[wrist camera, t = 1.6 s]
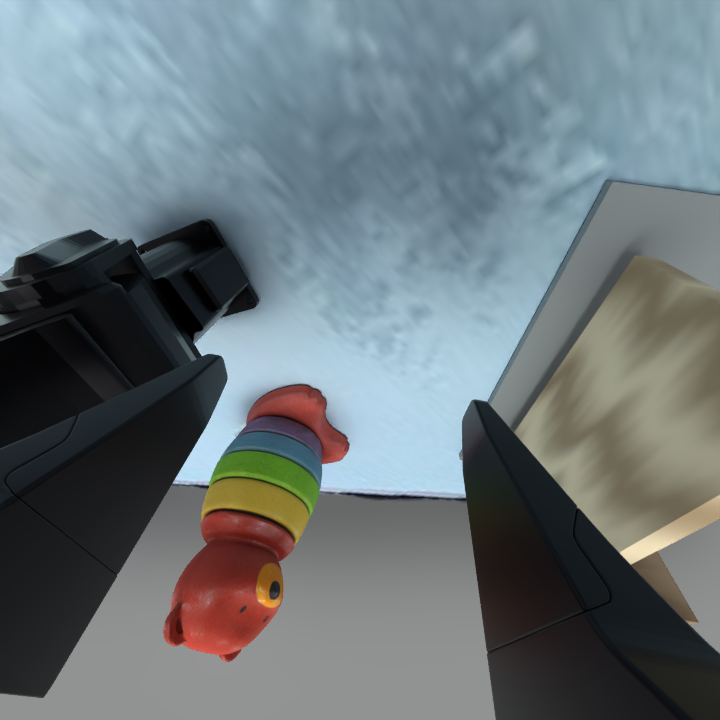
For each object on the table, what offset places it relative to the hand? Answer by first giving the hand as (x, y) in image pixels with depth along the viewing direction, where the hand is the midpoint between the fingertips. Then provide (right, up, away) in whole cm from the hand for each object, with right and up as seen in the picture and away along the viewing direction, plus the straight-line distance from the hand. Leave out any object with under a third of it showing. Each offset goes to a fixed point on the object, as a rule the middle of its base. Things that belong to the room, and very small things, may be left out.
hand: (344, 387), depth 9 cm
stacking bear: (-7, -6, +23) cm, 25 cm away
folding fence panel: (+15, 0, +12) cm, 19 cm away
